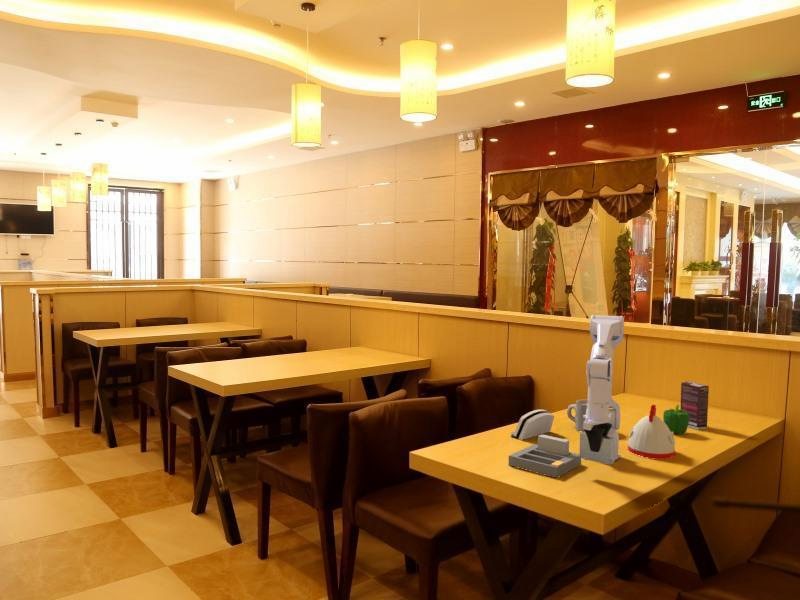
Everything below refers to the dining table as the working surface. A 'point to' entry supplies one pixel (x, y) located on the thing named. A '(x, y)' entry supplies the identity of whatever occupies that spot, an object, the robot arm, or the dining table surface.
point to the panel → (604, 452)
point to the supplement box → (695, 404)
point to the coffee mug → (578, 413)
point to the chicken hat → (652, 438)
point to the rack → (546, 457)
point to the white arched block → (533, 424)
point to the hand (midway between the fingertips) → (596, 450)
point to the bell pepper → (676, 420)
